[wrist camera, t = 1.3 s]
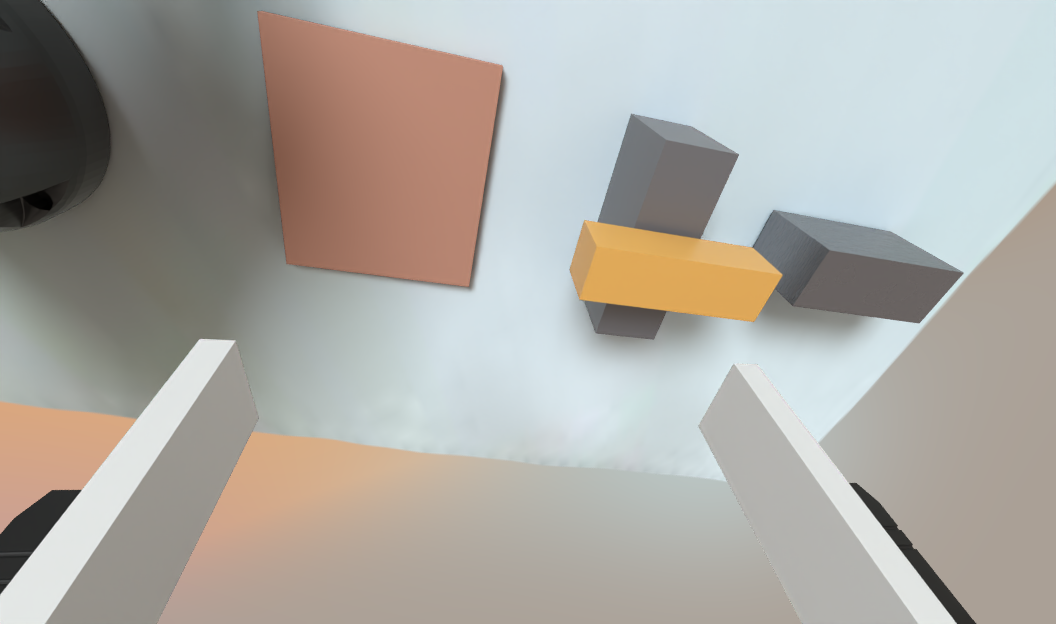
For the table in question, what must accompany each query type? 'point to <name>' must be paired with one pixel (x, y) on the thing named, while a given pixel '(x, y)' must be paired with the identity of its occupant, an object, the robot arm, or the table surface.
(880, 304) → the gray rectangular box
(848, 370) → the table surface
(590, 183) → the table surface
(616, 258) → the orange rectangular beam
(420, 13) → the table surface
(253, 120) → the table surface
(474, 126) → the mat
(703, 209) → the tall gray pillar
